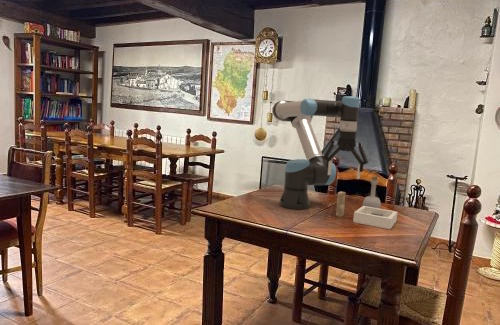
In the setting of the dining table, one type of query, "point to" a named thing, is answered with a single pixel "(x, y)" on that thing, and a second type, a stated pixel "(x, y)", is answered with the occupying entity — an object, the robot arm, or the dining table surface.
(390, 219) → the white square tray
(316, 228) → the dining table surface
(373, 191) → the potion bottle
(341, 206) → the tapered beige beam
